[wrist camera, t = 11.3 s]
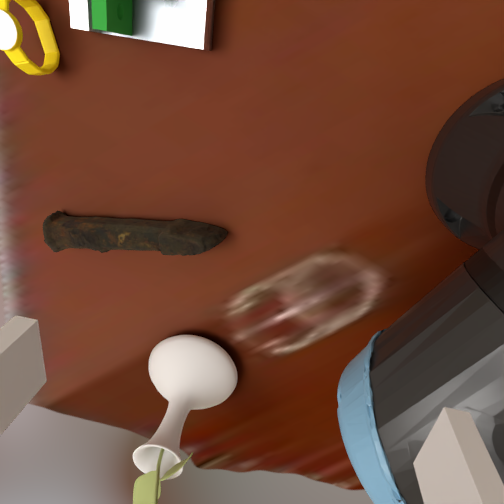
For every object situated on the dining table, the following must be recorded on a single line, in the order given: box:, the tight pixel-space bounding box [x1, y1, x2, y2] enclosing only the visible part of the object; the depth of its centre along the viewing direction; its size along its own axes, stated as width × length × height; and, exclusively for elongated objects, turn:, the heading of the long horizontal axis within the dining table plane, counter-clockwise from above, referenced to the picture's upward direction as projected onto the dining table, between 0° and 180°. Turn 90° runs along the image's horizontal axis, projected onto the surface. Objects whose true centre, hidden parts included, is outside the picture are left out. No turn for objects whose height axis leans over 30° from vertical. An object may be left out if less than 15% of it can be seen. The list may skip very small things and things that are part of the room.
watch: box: [0, 0, 60, 75], centre depth 31 cm, size 6×3×6 cm, turn 8°
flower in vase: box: [133, 335, 238, 504], centre depth 36 cm, size 13×11×25 cm
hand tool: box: [43, 211, 228, 256], centre depth 39 cm, size 19×4×5 cm, turn 89°
